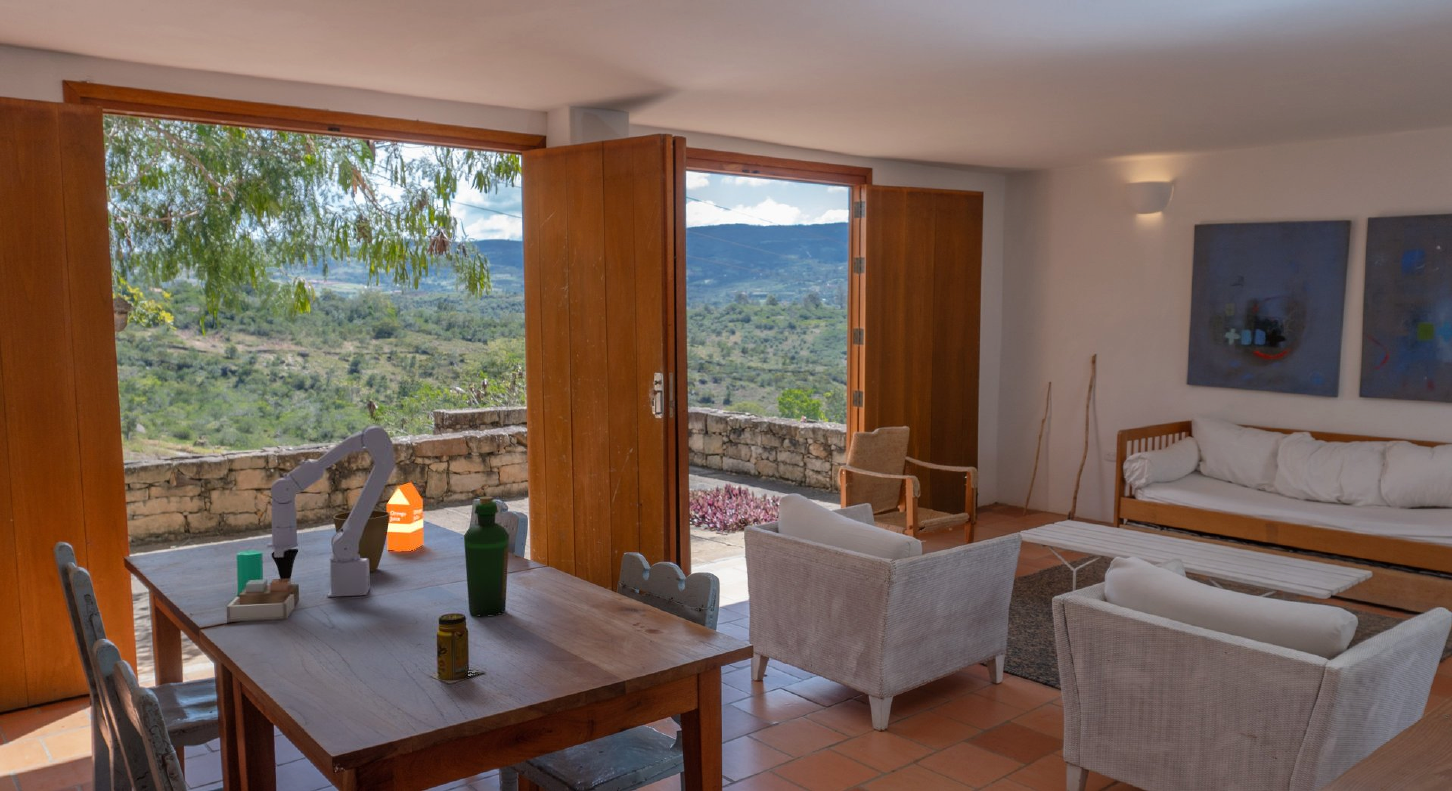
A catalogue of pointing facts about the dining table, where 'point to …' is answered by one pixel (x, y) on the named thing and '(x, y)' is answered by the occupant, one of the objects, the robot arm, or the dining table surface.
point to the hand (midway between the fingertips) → (285, 579)
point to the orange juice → (405, 519)
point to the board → (269, 596)
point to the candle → (249, 567)
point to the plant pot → (369, 536)
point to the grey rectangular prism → (256, 585)
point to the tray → (259, 610)
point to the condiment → (453, 649)
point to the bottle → (486, 561)
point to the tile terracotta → (280, 584)
